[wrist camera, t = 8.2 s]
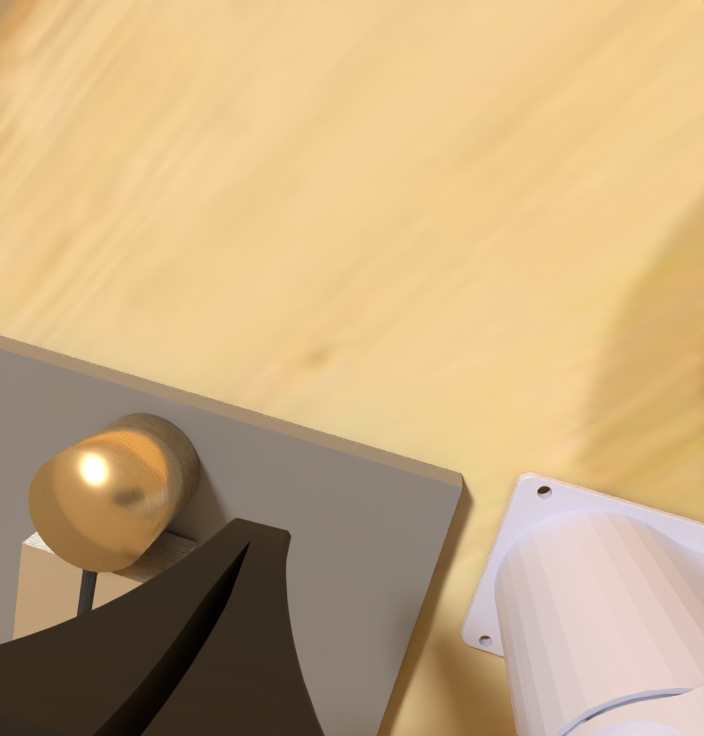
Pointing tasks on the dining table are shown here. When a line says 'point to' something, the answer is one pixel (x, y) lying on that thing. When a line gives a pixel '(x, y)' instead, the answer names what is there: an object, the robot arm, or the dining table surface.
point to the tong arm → (141, 568)
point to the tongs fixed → (100, 513)
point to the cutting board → (255, 514)
